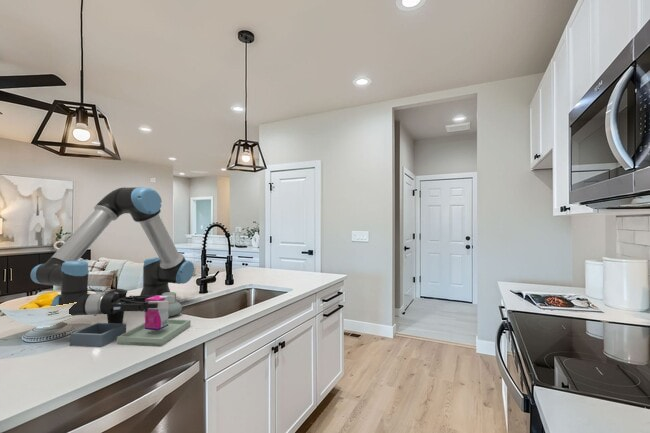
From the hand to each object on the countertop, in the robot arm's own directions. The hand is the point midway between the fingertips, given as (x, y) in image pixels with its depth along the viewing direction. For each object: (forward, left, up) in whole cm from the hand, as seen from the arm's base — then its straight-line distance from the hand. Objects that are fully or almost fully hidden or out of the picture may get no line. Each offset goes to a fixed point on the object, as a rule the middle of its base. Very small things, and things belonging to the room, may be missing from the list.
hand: (171, 301), depth 117 cm
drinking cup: (-6, -27, -12) cm, 30 cm away
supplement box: (+1, -5, -10) cm, 11 cm away
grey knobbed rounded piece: (-21, -13, -12) cm, 28 cm away
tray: (+1, -5, -12) cm, 13 cm away
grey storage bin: (+8, -22, -12) cm, 26 cm away
